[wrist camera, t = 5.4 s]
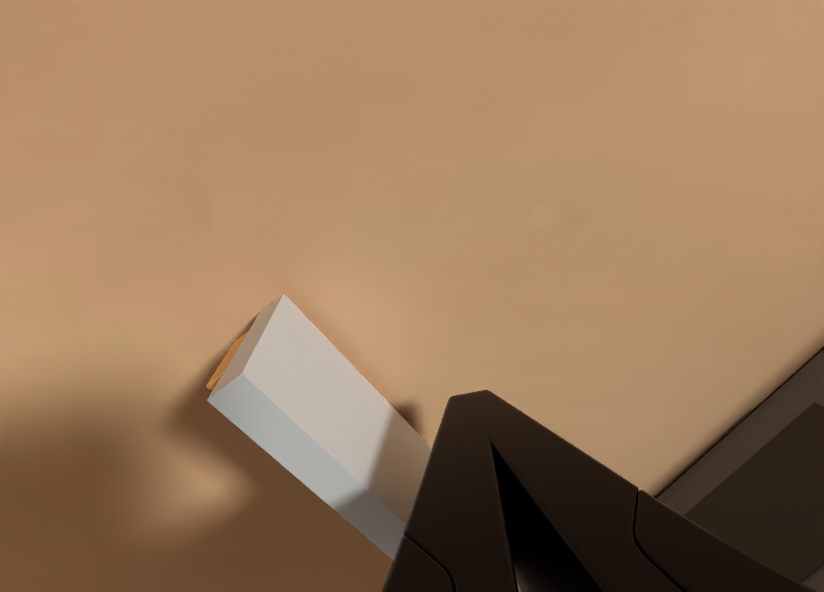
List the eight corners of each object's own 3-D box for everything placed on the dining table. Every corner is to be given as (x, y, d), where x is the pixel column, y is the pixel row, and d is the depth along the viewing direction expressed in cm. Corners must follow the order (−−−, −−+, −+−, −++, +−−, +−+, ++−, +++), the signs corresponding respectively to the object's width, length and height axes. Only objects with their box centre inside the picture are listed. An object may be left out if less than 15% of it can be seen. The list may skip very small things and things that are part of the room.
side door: (245, 323, 8) (187, 415, 6) (287, 290, 8) (247, 368, 5) (534, 603, 12) (584, 744, 9) (568, 584, 12) (628, 721, 9)
